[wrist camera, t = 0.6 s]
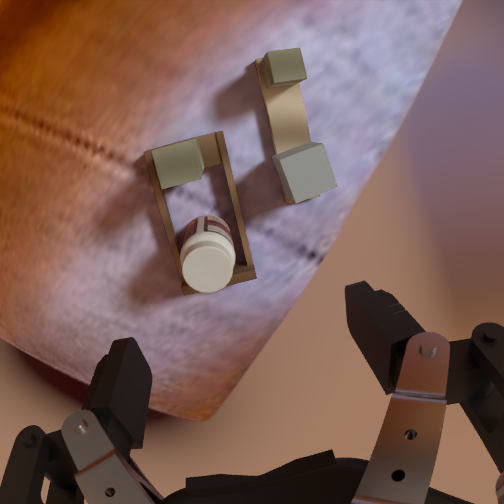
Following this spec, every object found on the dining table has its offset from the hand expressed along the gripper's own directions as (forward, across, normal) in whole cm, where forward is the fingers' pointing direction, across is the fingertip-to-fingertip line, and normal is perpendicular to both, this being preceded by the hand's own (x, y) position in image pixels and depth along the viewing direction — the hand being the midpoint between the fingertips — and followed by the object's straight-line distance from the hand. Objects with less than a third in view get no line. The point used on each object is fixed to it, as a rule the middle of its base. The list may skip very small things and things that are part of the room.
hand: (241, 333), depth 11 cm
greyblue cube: (+21, -8, -1) cm, 22 cm away
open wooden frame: (+22, +2, +1) cm, 22 cm away
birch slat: (+22, -8, -5) cm, 24 cm away
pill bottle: (+22, +2, +4) cm, 22 cm away
